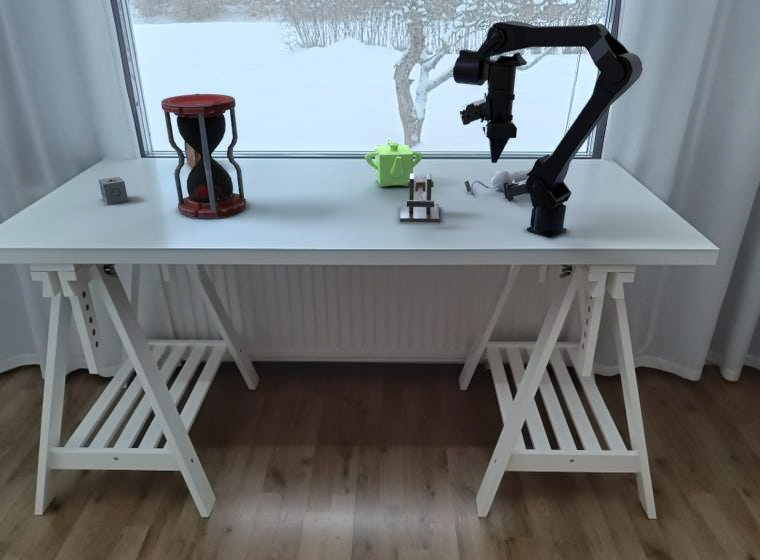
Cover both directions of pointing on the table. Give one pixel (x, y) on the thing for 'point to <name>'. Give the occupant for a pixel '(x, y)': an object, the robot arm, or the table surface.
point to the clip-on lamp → (507, 183)
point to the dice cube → (113, 190)
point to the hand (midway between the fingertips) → (493, 162)
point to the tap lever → (420, 195)
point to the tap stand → (419, 212)
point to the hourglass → (205, 154)
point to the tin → (191, 155)
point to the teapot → (393, 163)
